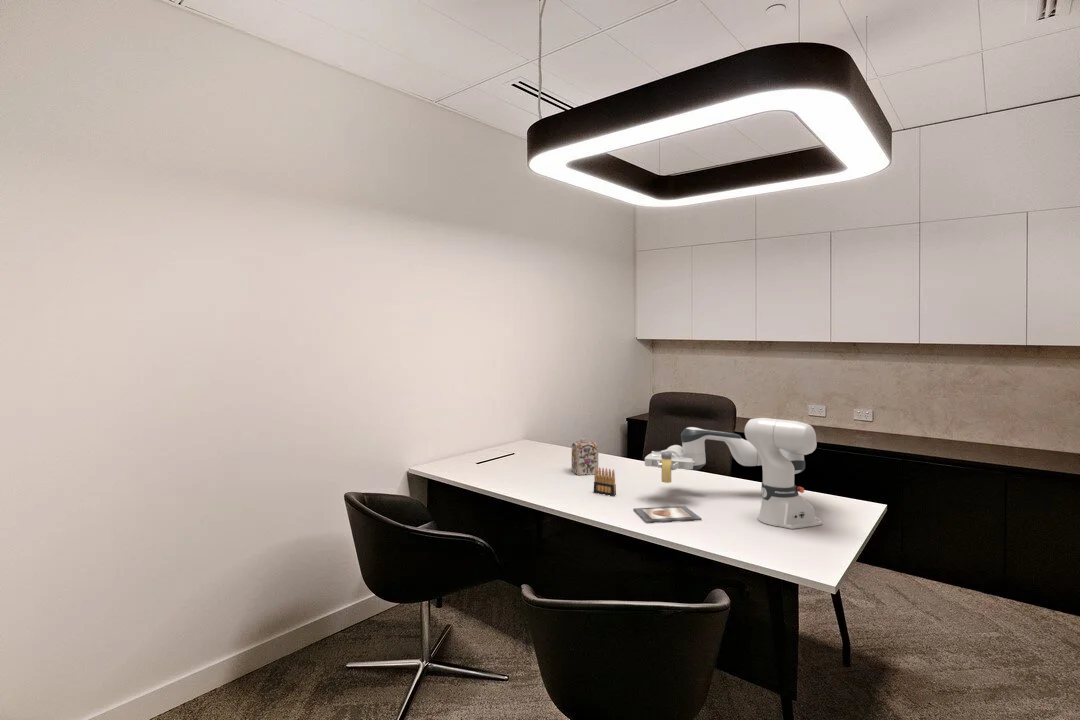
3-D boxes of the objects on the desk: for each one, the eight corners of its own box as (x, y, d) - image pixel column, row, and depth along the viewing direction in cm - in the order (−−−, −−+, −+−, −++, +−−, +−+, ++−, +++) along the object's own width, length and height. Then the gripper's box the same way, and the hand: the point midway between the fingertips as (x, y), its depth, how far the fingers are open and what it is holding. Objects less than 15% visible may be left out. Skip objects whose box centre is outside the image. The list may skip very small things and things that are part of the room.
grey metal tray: (684, 507, 227) (684, 505, 227) (701, 520, 211) (701, 517, 211) (633, 510, 224) (633, 507, 224) (646, 523, 208) (646, 520, 208)
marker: (669, 480, 232) (669, 451, 231) (673, 482, 228) (673, 453, 227) (659, 480, 231) (659, 452, 231) (663, 482, 227) (663, 454, 227)
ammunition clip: (616, 495, 246) (616, 469, 245) (614, 496, 244) (614, 469, 244) (595, 491, 252) (595, 465, 252) (593, 492, 251) (593, 466, 250)
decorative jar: (576, 475, 282) (576, 441, 281) (571, 470, 293) (570, 437, 293) (599, 474, 284) (599, 440, 284) (592, 469, 296) (592, 436, 295)
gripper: (695, 468, 237) (691, 476, 225) (648, 464, 245) (641, 471, 232) (695, 454, 237) (691, 460, 224) (648, 450, 245) (642, 457, 232)
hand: (666, 466), depth 228 cm, fingers closed on marker, 4 cm apart
